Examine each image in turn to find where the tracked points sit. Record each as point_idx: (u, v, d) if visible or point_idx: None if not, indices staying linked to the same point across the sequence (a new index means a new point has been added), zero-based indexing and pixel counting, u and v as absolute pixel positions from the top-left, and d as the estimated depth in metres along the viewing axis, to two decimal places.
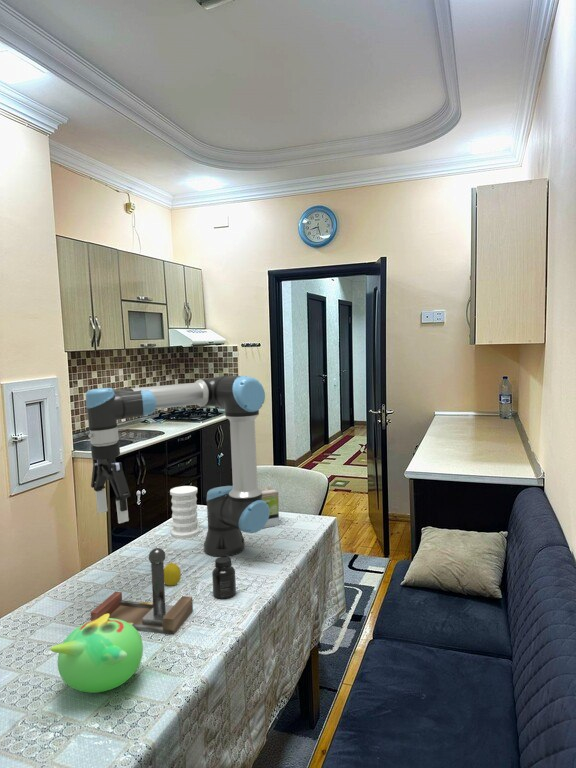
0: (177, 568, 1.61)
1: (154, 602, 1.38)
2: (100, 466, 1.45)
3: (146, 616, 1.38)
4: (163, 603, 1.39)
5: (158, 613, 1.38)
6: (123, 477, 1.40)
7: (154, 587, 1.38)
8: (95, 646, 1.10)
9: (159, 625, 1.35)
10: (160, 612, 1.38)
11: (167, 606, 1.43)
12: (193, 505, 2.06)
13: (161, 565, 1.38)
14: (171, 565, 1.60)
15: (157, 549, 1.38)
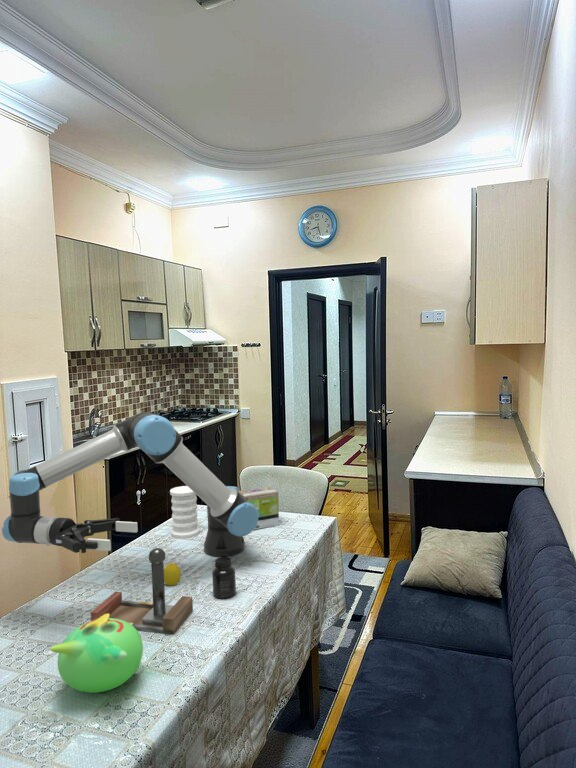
0: (177, 568, 1.61)
1: (154, 602, 1.38)
2: None
3: (146, 616, 1.38)
4: (163, 603, 1.39)
5: (158, 613, 1.38)
6: (65, 540, 1.35)
7: (154, 587, 1.38)
8: (95, 646, 1.10)
9: (159, 625, 1.35)
10: (160, 612, 1.38)
11: (167, 606, 1.43)
12: (193, 505, 2.06)
13: (161, 565, 1.38)
14: (171, 565, 1.60)
15: (157, 549, 1.38)
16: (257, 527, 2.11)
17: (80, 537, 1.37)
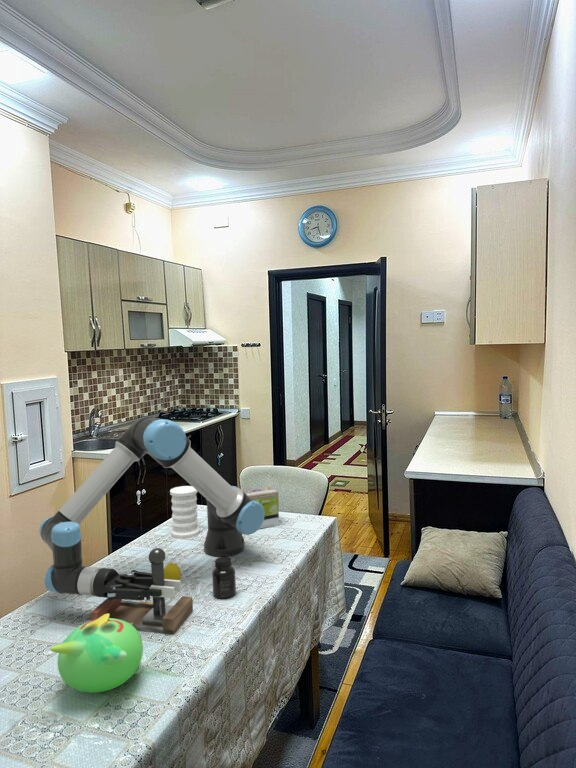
0: (177, 568, 1.61)
1: (154, 602, 1.38)
2: None
3: (146, 616, 1.38)
4: (163, 603, 1.39)
5: (158, 613, 1.38)
6: (123, 592, 1.35)
7: None
8: (95, 646, 1.10)
9: (159, 625, 1.35)
10: (160, 612, 1.38)
11: (167, 606, 1.43)
12: (193, 505, 2.06)
13: (161, 565, 1.38)
14: (171, 565, 1.60)
15: (157, 549, 1.38)
16: None
17: (139, 585, 1.38)
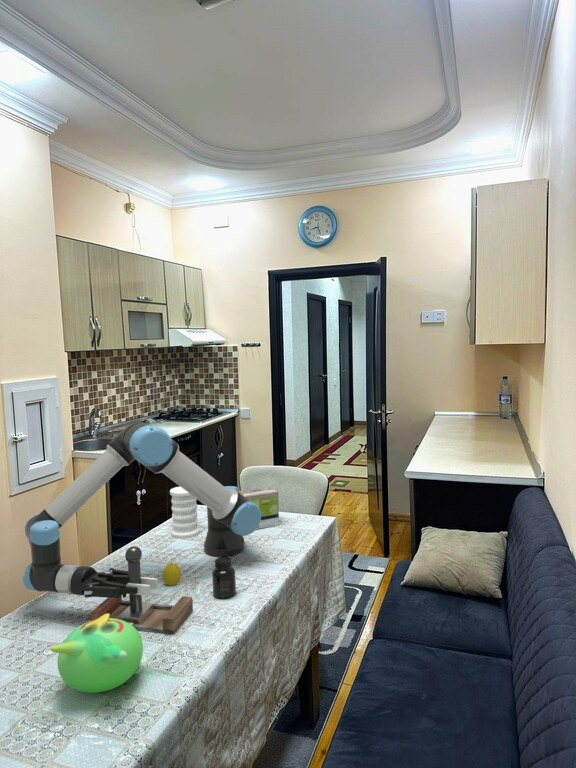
0: (177, 568, 1.61)
1: (130, 600, 1.40)
2: None
3: (122, 613, 1.39)
4: (139, 601, 1.40)
5: (134, 611, 1.40)
6: (99, 589, 1.37)
7: None
8: (95, 646, 1.10)
9: (135, 622, 1.37)
10: (136, 610, 1.40)
11: (144, 604, 1.44)
12: (193, 505, 2.06)
13: (137, 563, 1.39)
14: (171, 565, 1.60)
15: (133, 547, 1.40)
16: (257, 527, 2.11)
17: (115, 583, 1.39)
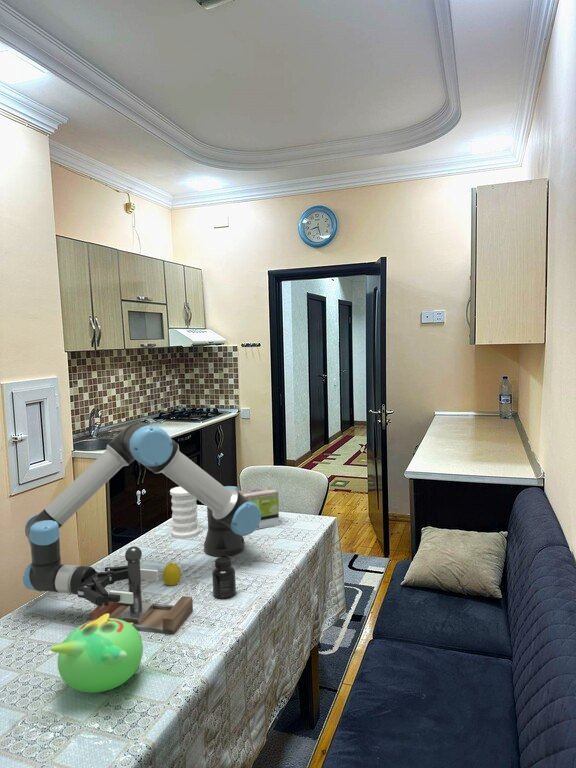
0: (177, 568, 1.61)
1: None
2: None
3: (122, 613, 1.39)
4: (139, 601, 1.40)
5: (134, 611, 1.40)
6: (87, 593, 1.35)
7: (130, 585, 1.39)
8: (95, 646, 1.10)
9: (135, 622, 1.37)
10: (136, 610, 1.40)
11: (144, 604, 1.44)
12: (193, 505, 2.06)
13: (137, 563, 1.39)
14: (171, 565, 1.60)
15: (133, 547, 1.40)
16: (257, 527, 2.11)
17: (102, 589, 1.36)
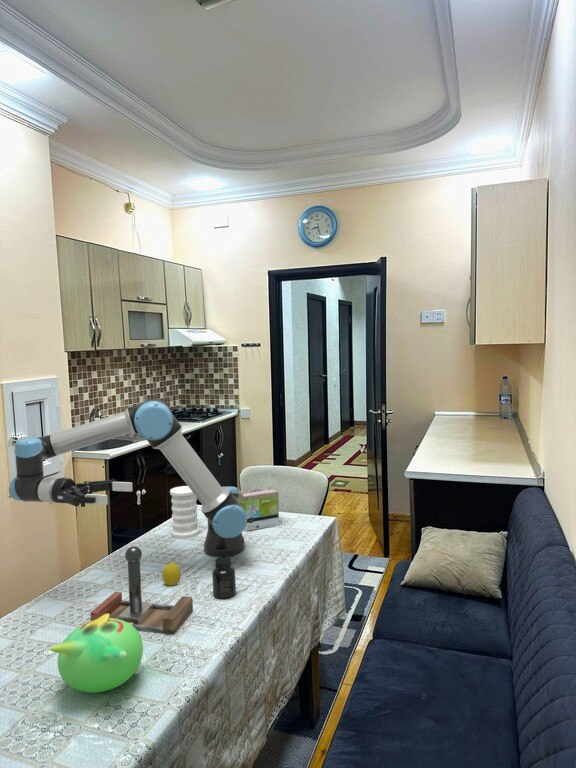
0: (177, 568, 1.61)
1: (130, 600, 1.40)
2: None
3: (122, 613, 1.39)
4: (139, 601, 1.40)
5: (134, 611, 1.40)
6: (66, 496, 1.49)
7: (130, 585, 1.39)
8: (95, 646, 1.10)
9: (135, 622, 1.37)
10: (136, 610, 1.40)
11: (144, 604, 1.44)
12: (193, 505, 2.06)
13: (137, 563, 1.39)
14: (171, 565, 1.60)
15: (133, 547, 1.40)
16: (257, 527, 2.11)
17: (80, 493, 1.50)
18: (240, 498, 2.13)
